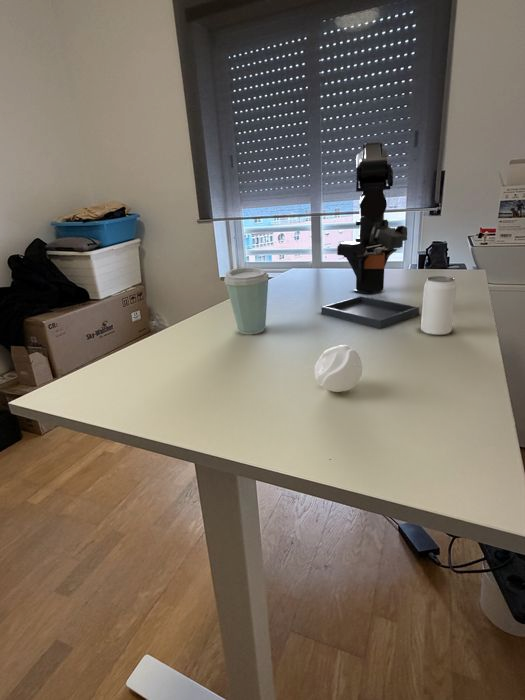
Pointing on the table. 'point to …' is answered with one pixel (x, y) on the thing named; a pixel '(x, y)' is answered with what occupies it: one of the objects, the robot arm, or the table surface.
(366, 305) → the tray
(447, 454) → the table surface
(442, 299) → the can
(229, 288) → the disposable coffee cup
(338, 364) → the white ball
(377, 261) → the battery
